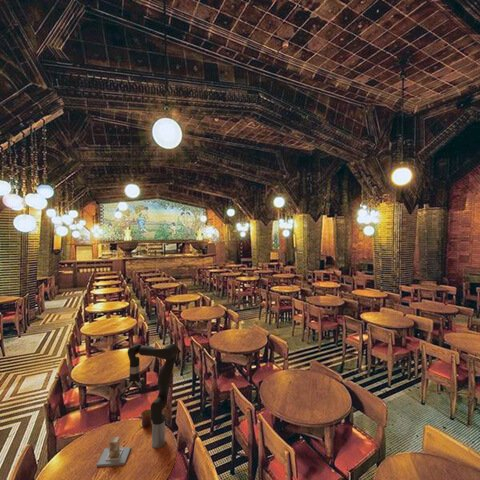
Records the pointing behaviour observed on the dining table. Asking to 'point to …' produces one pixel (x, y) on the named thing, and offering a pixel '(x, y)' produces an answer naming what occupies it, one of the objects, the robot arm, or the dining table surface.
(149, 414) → the mug
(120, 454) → the board
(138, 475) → the dining table surface
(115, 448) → the pillar
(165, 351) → the robot arm
